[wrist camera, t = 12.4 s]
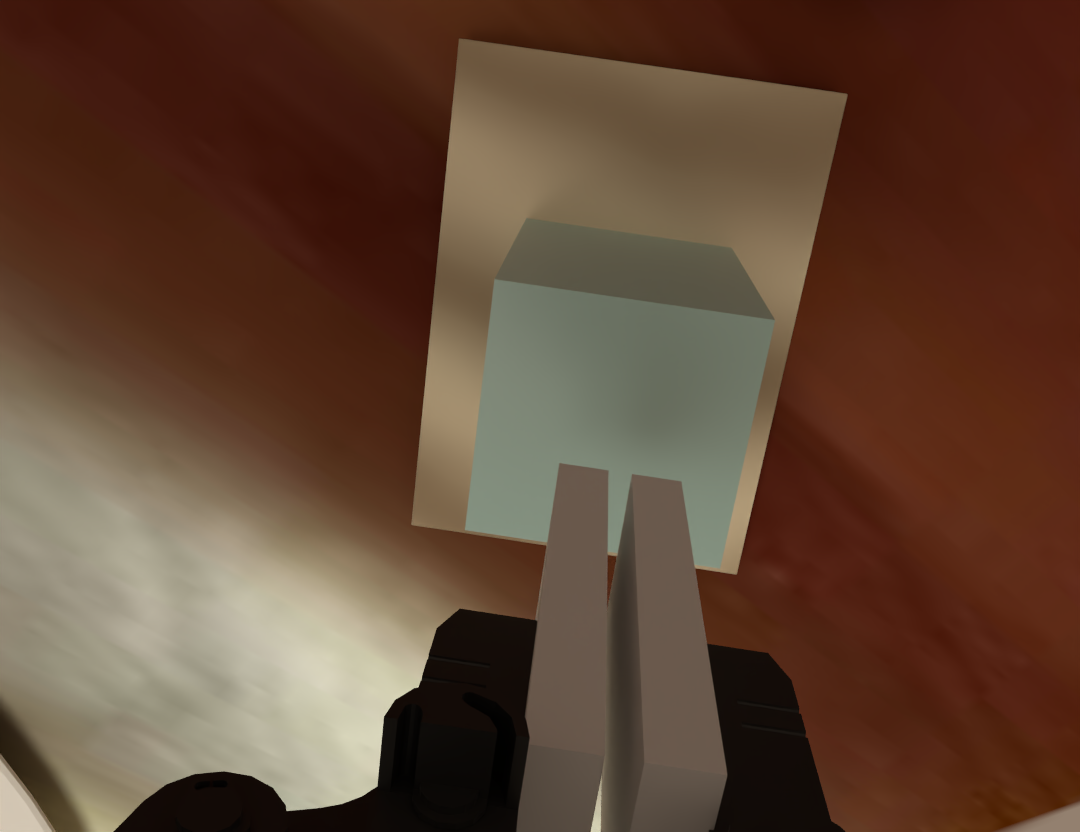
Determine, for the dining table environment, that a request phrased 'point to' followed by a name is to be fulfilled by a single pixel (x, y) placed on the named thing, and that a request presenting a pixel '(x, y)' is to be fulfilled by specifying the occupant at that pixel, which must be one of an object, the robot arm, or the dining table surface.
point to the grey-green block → (617, 377)
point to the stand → (612, 214)
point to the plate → (19, 805)
